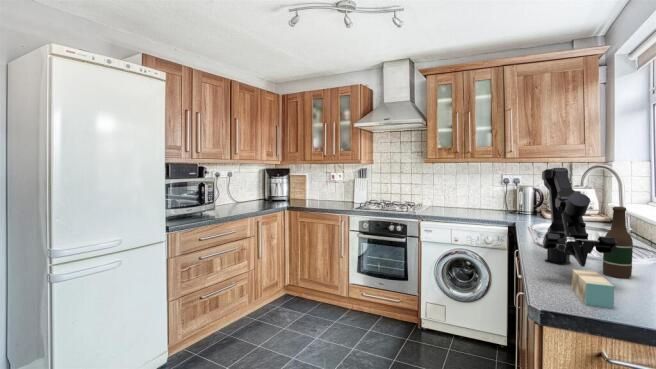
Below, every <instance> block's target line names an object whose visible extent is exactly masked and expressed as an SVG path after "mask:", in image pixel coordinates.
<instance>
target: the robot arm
mask: <svg viewBox="0 0 656 369" xmlns="http://www.w3.org/2000/svg"><path fill="white" fill-rule="evenodd" d="M541 172H542V173H541V180H542V181H543V184H544V187H546V189H547V190H548V195H549V203H550V204H549V206H550V209H549V210H550V217H551V218H550V220H551V223H550V225H549V227H548V228H547V231H546V232H545V234H544V237H543V239H542V246H543V248H544V249H547V252H546V253H547V254H546V255H547V257H546V258H547V259H544V262H549V263H552V264H557V265H562V266H563V265H566V264H570V263H571V261H570V259H571V258H570V257H571V256H573V258H575V260H576V261H577V263H578V264H579V266H580V267H582V268H583V267H585V266H586V263H587V258H588V254H591V253H592V252H593V250H594V248H595V250H596V252H598V253H600V254H603V253H612V252H613V251H614V249H615V247H616V246H617V241H616V239H615V238H613V237H605V236H601V235H600V236H598V238H597V239H589V233H588V232H587V230H586V226H587V223H586V222H584V217H583V216H585V215H586V213H587V211H588V208H589V205H590V204H591V198H589V197H588V196H587V195H586V194H584V193H581V192H582V191H580V190H574V189H573V186H572V183H571V179H570V178H569V170H568V168H566V167H552V168H546V169H545V170H542V171H541Z"/></svg>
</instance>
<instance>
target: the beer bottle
mask: <svg viewBox="0 0 656 369" xmlns="http://www.w3.org/2000/svg"><path fill="white" fill-rule="evenodd" d="M611 210H612V211H613V212H612V220H611V226H610V230H608V232H607V233H606V234H605V236H604V237H613V238H615V239H616V241H617V246H616V247H615V249H614V251H613V252H612V253H602V273H603V275H605V276H607V277H610V278H616V279H625V280H627V279H630V278H631V277H632V273H633V253H634V252H633V251H634V245H633V244H634V242H633V238H632V235H631V234H630V232H628V230H627V221H626V217H627V216H626V212H627V208H626V207H625V206H612V209H611Z"/></svg>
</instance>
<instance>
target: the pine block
mask: <svg viewBox="0 0 656 369" xmlns="http://www.w3.org/2000/svg"><path fill="white" fill-rule="evenodd" d="M571 289H572V290H573V292H574V293H575V294H576V296H578V298H579V299H580V300H581V301H582V302H583V303H584V304H585V306H590V307H600V308H606V309H613V308H614V305H615V301H614V300H615V286H614V285H613V284H612V283H610V281H608V280H607V279H606V278H604V276H602V275H601V274H599V272H597V271H595V270H583V269H571Z"/></svg>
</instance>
